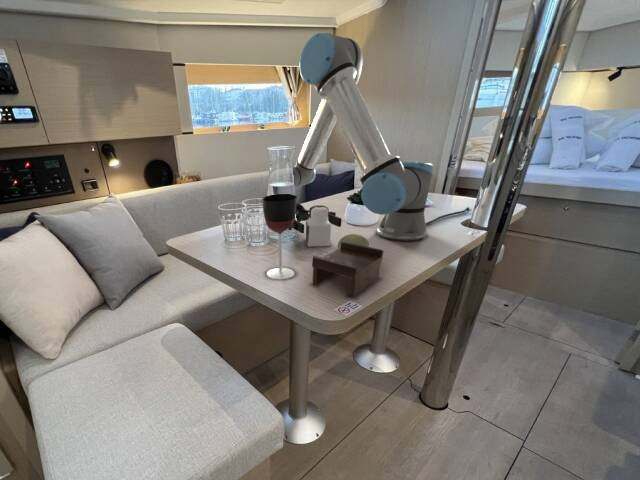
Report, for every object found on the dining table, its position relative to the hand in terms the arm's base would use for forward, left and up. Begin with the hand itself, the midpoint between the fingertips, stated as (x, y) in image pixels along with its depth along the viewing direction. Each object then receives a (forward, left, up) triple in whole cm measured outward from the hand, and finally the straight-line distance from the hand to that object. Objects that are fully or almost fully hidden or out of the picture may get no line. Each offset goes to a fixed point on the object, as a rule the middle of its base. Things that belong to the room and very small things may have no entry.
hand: (322, 225), depth 100 cm
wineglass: (+25, +4, -7) cm, 26 cm away
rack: (+19, +20, -6) cm, 28 cm away
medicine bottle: (-1, -2, -7) cm, 7 cm away
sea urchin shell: (-1, +11, -7) cm, 13 cm away
